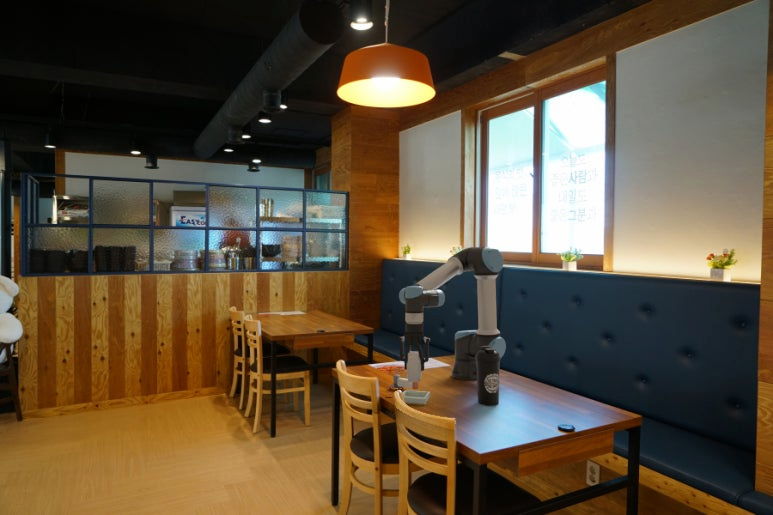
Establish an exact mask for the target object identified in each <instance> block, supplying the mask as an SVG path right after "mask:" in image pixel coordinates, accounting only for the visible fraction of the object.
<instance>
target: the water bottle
mask: <svg viewBox="0 0 773 515" xmlns="http://www.w3.org/2000/svg"><path fill="white" fill-rule="evenodd" d="M495 350H496V349H495V348H490V347H489V346H482V347H480V351H478V352H477V354H476V362H477V380H476V385H477V404H479V405H481V406H485V407H486V406H487V407H494V406H498V405H499V402H500V367H501V366H500V363H501V359H502V358H501V356H500V355H499V353H498V352H497V351H495Z"/></svg>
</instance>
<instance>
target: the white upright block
mask: <svg viewBox="0 0 773 515" xmlns="http://www.w3.org/2000/svg"><path fill="white" fill-rule="evenodd" d="M420 362H421V361H420V357H419V353H418V350H417V351H416V350H414V351H412V350H410V352H409V353H408V378H407V379H408V382H418V383H420V381H421V379H422V378H421V379H419V363H420Z"/></svg>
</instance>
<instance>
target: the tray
mask: <svg viewBox="0 0 773 515" xmlns="http://www.w3.org/2000/svg"><path fill="white" fill-rule="evenodd" d="M402 393H403V396H404V400H405V402H406V403H407V404H408V405H420V406H426V405H427V403H428V401H429V400H430V398H431V391H425V390H424V391H423V390H407V389H406V390H404V391H403V392H402ZM407 404H406V405H407Z"/></svg>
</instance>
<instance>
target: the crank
mask: <svg viewBox="0 0 773 515" xmlns="http://www.w3.org/2000/svg"><path fill="white" fill-rule="evenodd" d="M392 383H393V384H392V385H394V386H399V387H403V388H406V389H412V390H419V382H408V378H404V377H401V375H400V374H393V382H392Z"/></svg>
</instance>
